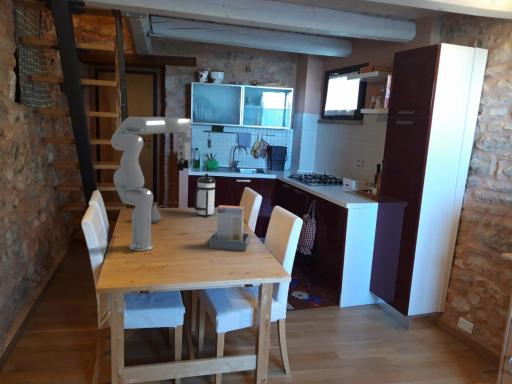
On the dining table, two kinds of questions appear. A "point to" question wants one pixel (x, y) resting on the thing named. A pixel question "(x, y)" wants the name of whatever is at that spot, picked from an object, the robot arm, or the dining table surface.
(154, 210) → the coffee pot
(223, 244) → the tray
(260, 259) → the dining table surface
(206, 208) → the coffee press
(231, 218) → the cracker box
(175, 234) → the dining table surface
